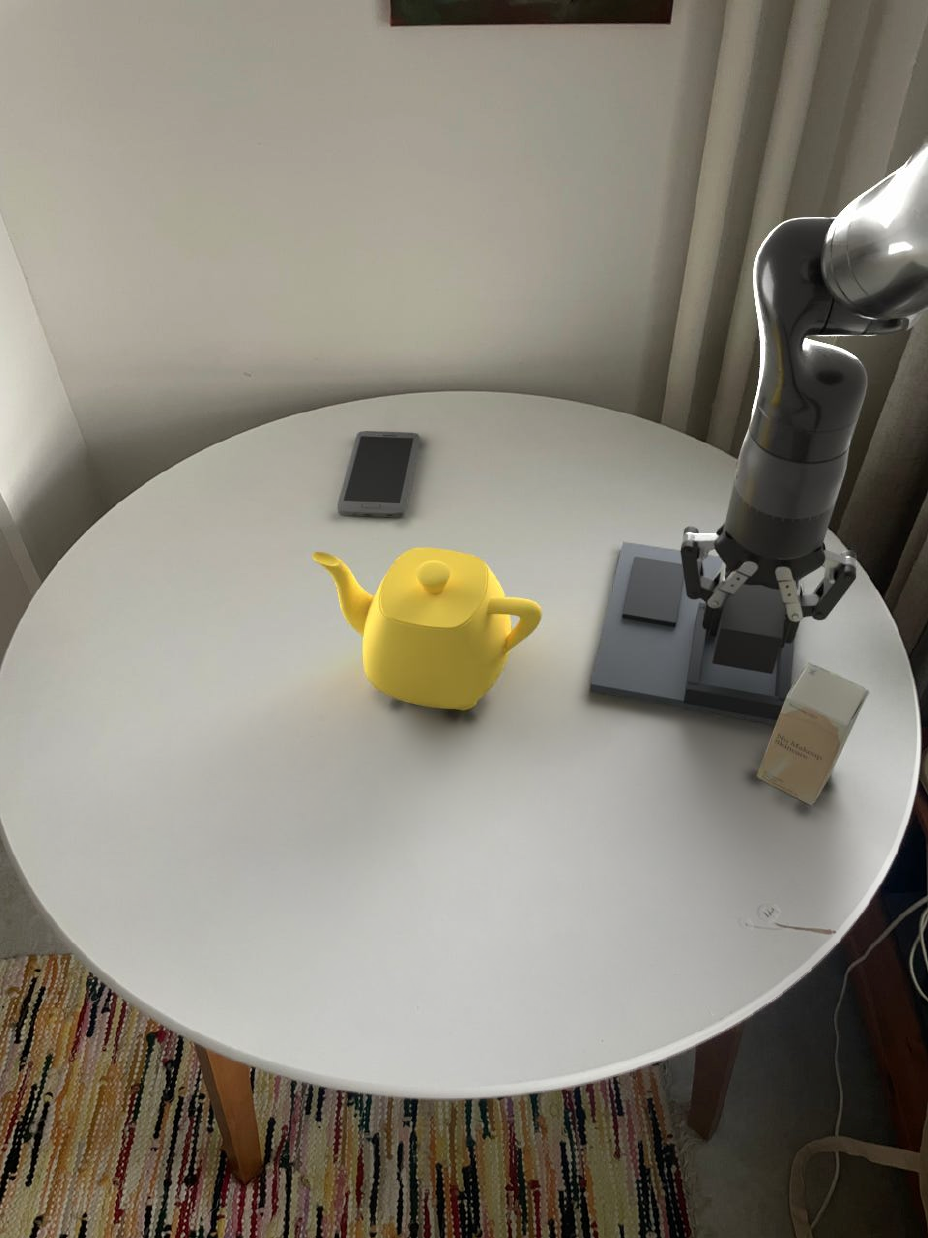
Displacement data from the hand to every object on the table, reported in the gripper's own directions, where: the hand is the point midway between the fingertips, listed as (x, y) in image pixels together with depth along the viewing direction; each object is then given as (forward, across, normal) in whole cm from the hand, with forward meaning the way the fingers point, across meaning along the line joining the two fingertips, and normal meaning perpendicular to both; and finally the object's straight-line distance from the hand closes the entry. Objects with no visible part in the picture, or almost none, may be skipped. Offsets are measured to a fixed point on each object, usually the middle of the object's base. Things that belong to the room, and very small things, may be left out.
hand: (746, 634), depth 89 cm
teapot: (+5, -27, -6) cm, 28 cm away
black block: (+1, 0, 0) cm, 1 cm away
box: (+5, +6, -10) cm, 13 cm away
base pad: (+5, -4, +4) cm, 8 cm away
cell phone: (+5, -40, +20) cm, 45 cm away
